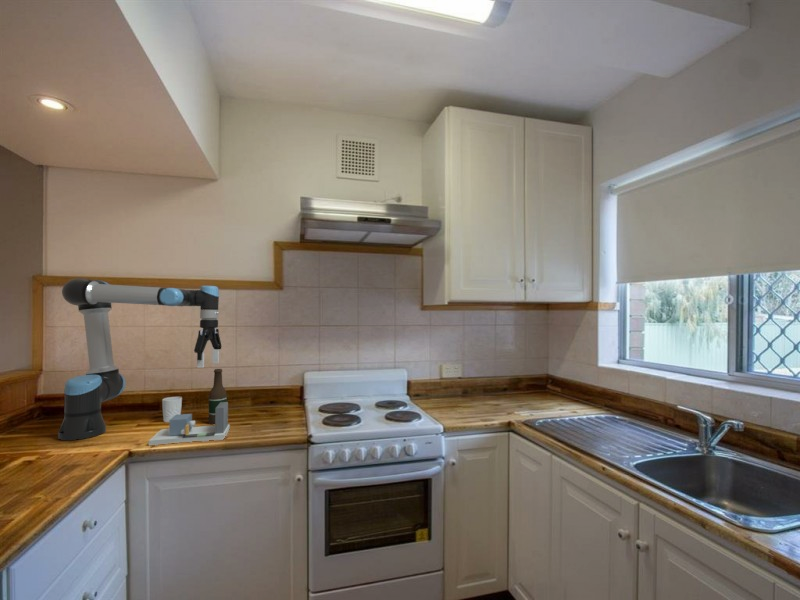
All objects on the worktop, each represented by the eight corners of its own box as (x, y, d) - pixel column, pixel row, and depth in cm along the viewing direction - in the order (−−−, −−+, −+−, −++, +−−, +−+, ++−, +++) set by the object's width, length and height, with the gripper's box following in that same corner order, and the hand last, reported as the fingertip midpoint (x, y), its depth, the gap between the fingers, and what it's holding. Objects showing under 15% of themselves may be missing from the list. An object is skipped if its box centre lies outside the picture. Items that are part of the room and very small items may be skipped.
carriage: (166, 438, 145) (166, 422, 145) (175, 429, 156) (175, 414, 156) (190, 436, 147) (190, 420, 147) (197, 427, 158) (197, 413, 158)
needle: (185, 435, 147) (185, 425, 147) (186, 433, 149) (186, 424, 149) (187, 435, 147) (187, 425, 147) (189, 433, 149) (189, 424, 149)
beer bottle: (205, 422, 173) (205, 369, 174) (222, 418, 179) (223, 367, 180) (212, 425, 168) (212, 371, 169) (229, 422, 174) (230, 369, 174)
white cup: (166, 423, 171) (166, 401, 171) (159, 420, 176) (159, 398, 176) (184, 419, 177) (185, 398, 178) (177, 416, 182) (177, 395, 182)
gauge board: (148, 446, 143) (148, 413, 144) (161, 434, 157) (161, 404, 157) (223, 439, 150) (224, 409, 150) (229, 428, 164) (230, 400, 164)
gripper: (203, 320, 165) (202, 369, 164) (229, 318, 189) (228, 361, 189) (185, 319, 165) (184, 369, 164) (214, 318, 190) (213, 361, 189)
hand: (208, 365), depth 177 cm, fingers open, 13 cm apart
